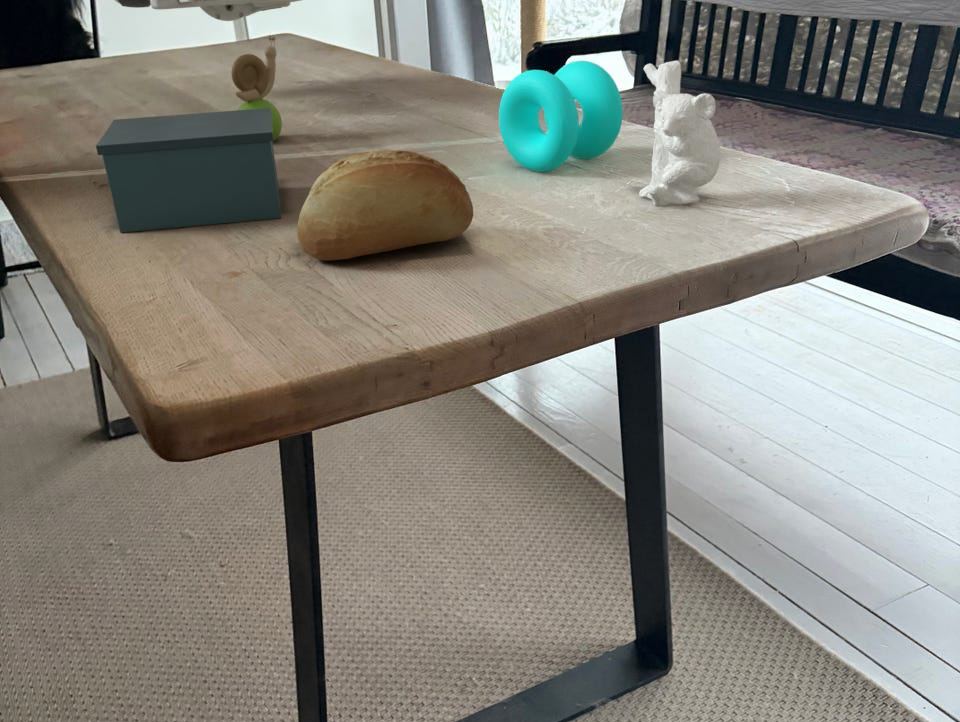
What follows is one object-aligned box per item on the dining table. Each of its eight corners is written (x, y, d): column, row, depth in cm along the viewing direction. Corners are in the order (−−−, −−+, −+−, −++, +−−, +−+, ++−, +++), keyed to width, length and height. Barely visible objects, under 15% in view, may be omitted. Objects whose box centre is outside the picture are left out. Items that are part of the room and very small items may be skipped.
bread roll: (496, 251, 78) (494, 151, 74) (319, 282, 73) (305, 177, 69) (452, 221, 86) (448, 129, 82) (289, 247, 81) (275, 151, 77)
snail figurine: (300, 142, 116) (286, 36, 110) (255, 152, 112) (239, 43, 106) (274, 137, 120) (260, 33, 114) (230, 146, 116) (213, 40, 110)
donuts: (626, 162, 102) (630, 62, 97) (564, 181, 96) (565, 76, 91) (556, 149, 108) (556, 55, 103) (494, 166, 102) (491, 67, 97)
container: (116, 234, 86) (95, 145, 82) (131, 199, 96) (113, 119, 92) (284, 219, 88) (272, 132, 84) (281, 186, 98) (270, 107, 94)
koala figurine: (615, 196, 90) (620, 61, 84) (673, 185, 93) (682, 54, 87) (670, 218, 84) (679, 73, 78) (730, 206, 86) (744, 65, 80)
